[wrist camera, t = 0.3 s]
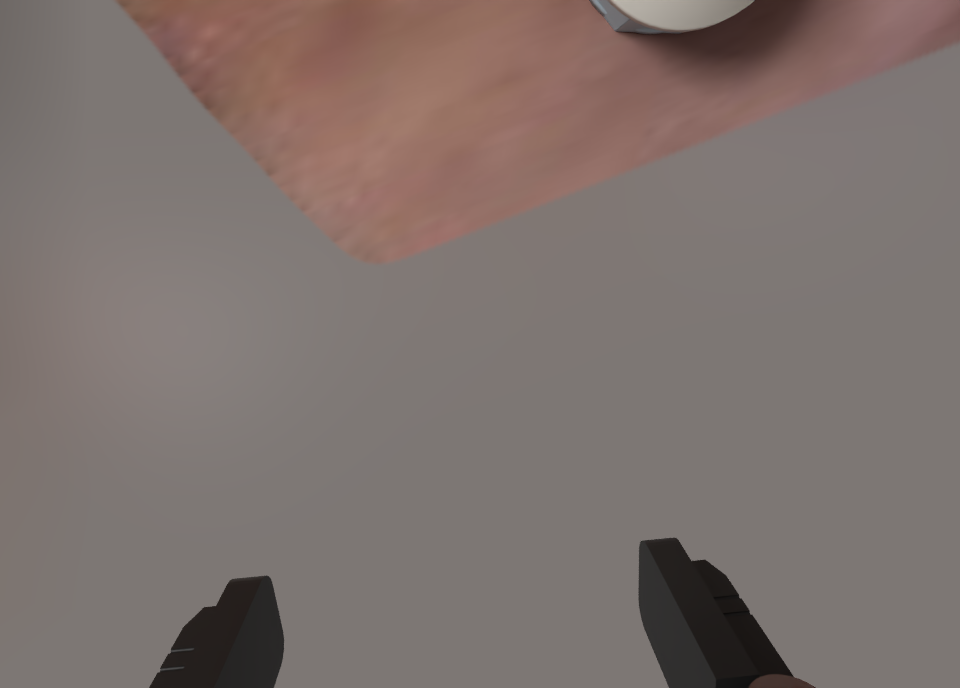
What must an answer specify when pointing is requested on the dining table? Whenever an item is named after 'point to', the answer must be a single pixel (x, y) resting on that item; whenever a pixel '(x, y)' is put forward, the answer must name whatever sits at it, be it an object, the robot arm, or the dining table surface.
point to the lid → (679, 12)
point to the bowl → (622, 19)
